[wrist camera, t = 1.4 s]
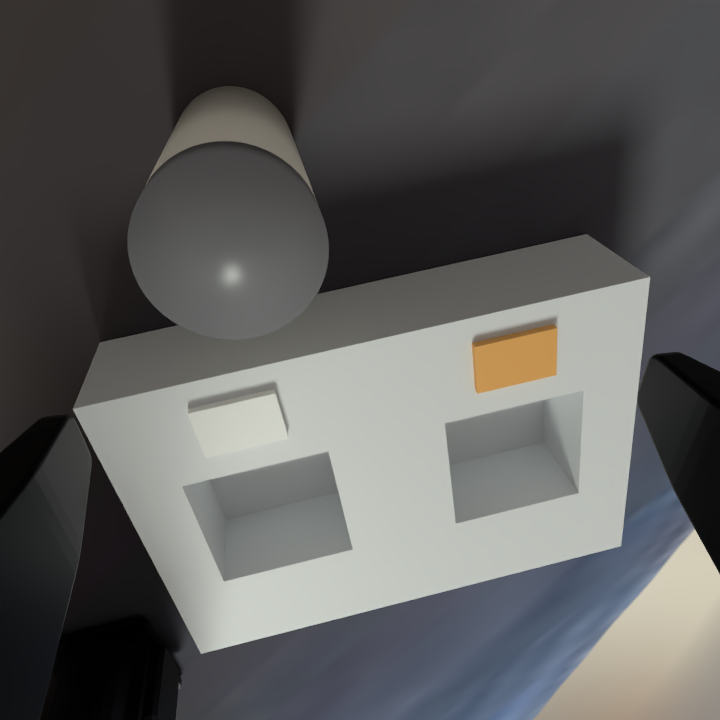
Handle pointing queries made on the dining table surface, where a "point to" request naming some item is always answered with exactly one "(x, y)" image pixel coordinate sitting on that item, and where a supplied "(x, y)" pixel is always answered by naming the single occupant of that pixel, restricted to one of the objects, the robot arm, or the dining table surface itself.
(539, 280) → the port box
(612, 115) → the dining table surface
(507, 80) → the dining table surface
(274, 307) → the plug
